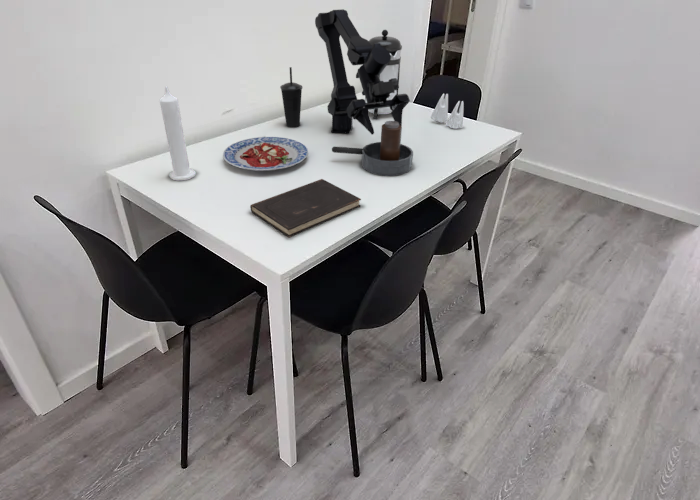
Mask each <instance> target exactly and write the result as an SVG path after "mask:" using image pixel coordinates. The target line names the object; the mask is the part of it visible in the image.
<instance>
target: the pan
mask: <svg viewBox="0 0 700 500" xmlns="http://www.w3.org/2000/svg"><path fill="white" fill-rule="evenodd" d="M380 146H381V141H376V142H371V143H368V144H365V145H364V147H362V149H366V150H367V154H365V152H364V150H362V155H361V167H362V168H363V170H365V171H366V172H368V173H370V174H374V175H376V176H377V175H378V176H384V177H394V176H400V175H404V174H407V173H409V172H410V171H411V170H412V166H413V159H414V158H413V157H414V150H412V148H411V147H409V146H407V145H405V144H404V143H403V144H402V143H400V155H399V160H397V161H385V160H380Z"/></svg>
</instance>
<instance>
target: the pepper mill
mask: <svg viewBox="0 0 700 500" xmlns="http://www.w3.org/2000/svg"><path fill="white" fill-rule="evenodd" d="M402 129H403V125H402V126H401V125H399V123H398V122H397V121H394V120H386V121H385V122H384V123H383V124H381V131H380V132H381V133H380V142H381V146H380V160H385V161H397V160H399V155H400V144H402V142H401V141H402Z"/></svg>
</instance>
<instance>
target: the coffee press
mask: <svg viewBox="0 0 700 500" xmlns="http://www.w3.org/2000/svg"><path fill="white" fill-rule="evenodd" d="M388 35H389V31H388V30H387V29H383V30H382V32H381V35H379V36H374V37H372V38H370V39H369V40H368V41H369V42H370V43H371V44H372V46H373V44H375V43H380V45H381V47H384V48H385V49H387V50H388V52H389V53H390V55H391V59H390V61H389V63H388V64H387V66H386V67H385V68H384V70H383V71H382V73H381V74H379V78H380V81H383V82H389V80H390V79H393V78H397V81H398V84H399V85H400V72H401V61H402V60H401V58H402V57H401V52H402V49H403V45H402V43H401V41H400V40H399V39H398V38H396V37H394V36H388ZM394 92H395V93H390V96H389V98H387V100H392V99H393V97H394V96H395V95H398V94H399V89H397V90H394ZM364 100H365V102H366V103H367V100H366V97H365V96H364ZM391 112H392V110H391V109H390V107H384V108H377V109H369V110H368V113H372V114H373V116H372V119H373V120H378V117H379V115H388V114H391Z"/></svg>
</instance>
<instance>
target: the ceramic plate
mask: <svg viewBox="0 0 700 500" xmlns="http://www.w3.org/2000/svg"><path fill="white" fill-rule="evenodd" d="M308 155H309V150H308V147H307V146H306V145H305V144H303V143H302V142H301V141H298V140H295V139H292V138H288V137H280V136H258V137H251V138H246V139H241V140H239V141H236V142H233V143H232V144H230V145H228V146H227V147H226V148H225V149H224V150H223V151H222V159H223V160H224V161H225V162H226V163H227V164H229V165H231V166H232V167H235V168H238V169H243V170H248V171H261V172H265V171H275V170H281V169H286V168H290V167H293V166H295V165H298V164H300V163H301V162H303V161H304V160H305V159H307V157H308Z"/></svg>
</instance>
